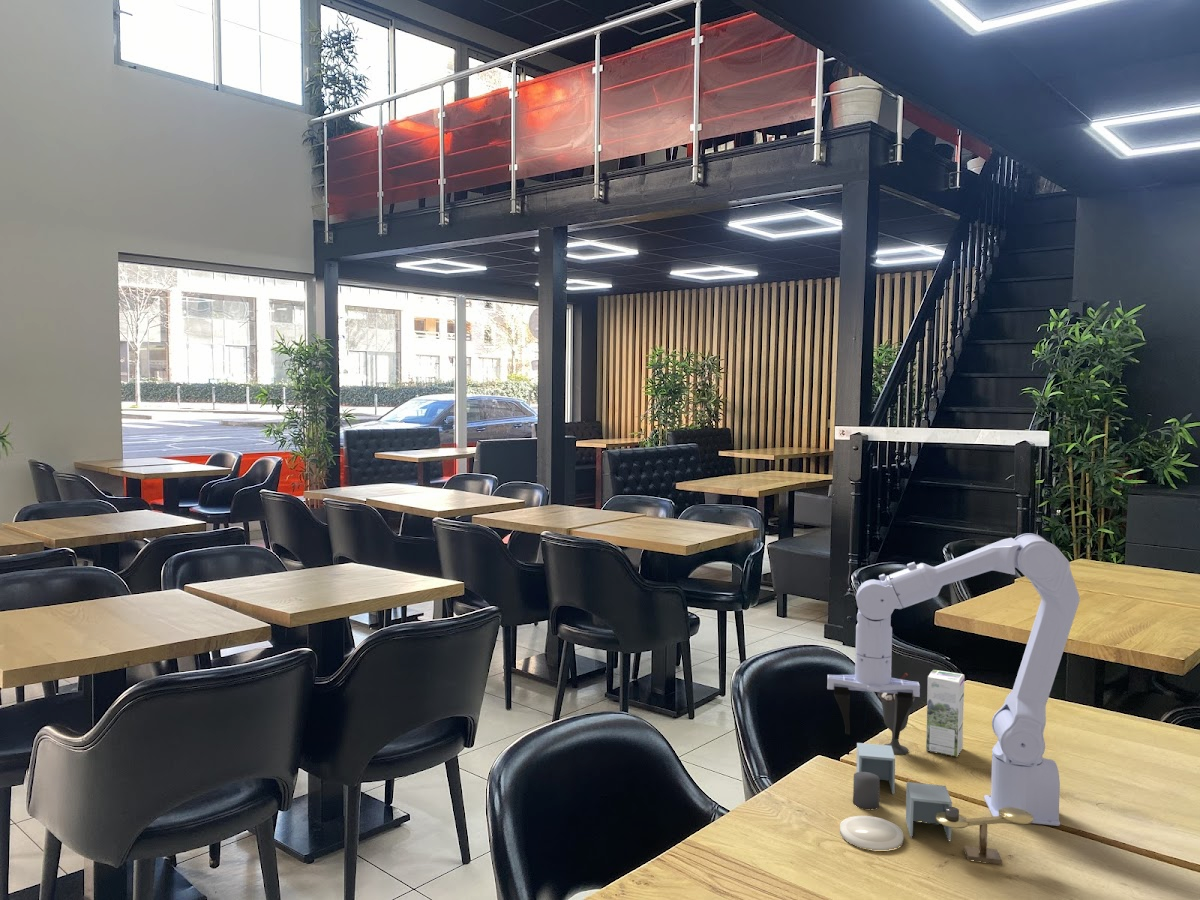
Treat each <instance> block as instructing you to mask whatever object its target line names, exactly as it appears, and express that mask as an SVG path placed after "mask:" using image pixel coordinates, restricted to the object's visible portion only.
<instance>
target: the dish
mask: <svg viewBox="0 0 1200 900" xmlns="http://www.w3.org/2000/svg"><path fill="white" fill-rule="evenodd" d="M839 834H841V835H840V837H841V836H842V837H843V838H842V837H841V838H842V839H843V840H844V839H845V840H846V841H847V843H848V842H849V843H851V844H853V845H856V846H858V847H861V848H866V849H872V850H889V849H894V848H898V847H899V846H901V845H902V846H903V844H904V833H903V830H902V829H901V827H899V825H897V824H895V823H893V822H892V821H890V820H887V819H884V818H882V817H876V816H869V815H854V816H849V817H846V818H845V819H843V820H842V821H841V822H840V823H839ZM845 840H844V841H845ZM846 841H845V842H846ZM849 843H848V844H849ZM902 843H903V844H902ZM851 844H850V845H851ZM853 845H852V846H853ZM902 846H901V847H902ZM858 847H857V848H858ZM861 848H860V849H861ZM898 849H899V848H898Z"/></svg>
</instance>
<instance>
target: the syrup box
mask: <svg viewBox="0 0 1200 900" xmlns="http://www.w3.org/2000/svg"><path fill="white" fill-rule="evenodd" d="M926 689H927V692H926V693H927V694H926V695H927V696H926V698H927V701H926V734H925V737H926V740H925V741H926V742H925V746H926V747H925V750H926V752H928V751H930V752H929V753H933V752H937V753H936V754H938V753H941V754H940V755H942V754H947V755H952V756H958V755H960V754H961V752H962V750H963V746H964V744H963V743H964V735H963V734H964V731H963V730H964V702H965V700H964V699H965V674H963V673H958V672H953V671H951V672H950V671H945V670H938V669H932V671H930V673H929V674H928V675H927V688H926ZM960 751H961V752H960ZM959 753H960V754H959ZM947 755H946V756H947ZM952 756H951V757H952ZM958 757H959V756H958Z"/></svg>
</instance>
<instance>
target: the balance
mask: <svg viewBox="0 0 1200 900" xmlns="http://www.w3.org/2000/svg"><path fill="white" fill-rule="evenodd" d="M936 821H937V822H938V823H940V824H942V826H943V825H944V826H947V827H950V828H951V829H965V828H968V827H972V826H973V827H974V826H979V829H978V833H979V835H978V836H979V837H978V839H979V840H978V846H969V845H964V847H963V850H965V851H964V854H965V853H966V854H965V856H967V857H966V858H968V859H967V861H968V860H974V861H981V862H980V863H982V862H986V863H985V864H990V863H994V864H993V865H999V864H1001V865H1002V864H1003V859H1002V857H1001V855H1000V853H999V850H998V849H997V848H989V847H988V844H987V843H988V825H995V824H996V825H997V824H1008V823H1014V824H1018V825H1019V824H1020V825H1028V824H1032V823H1031V822H1033V816H1032V815H1031V814H1030V813H1029V812H1027V811H1025V810H1022V809H1018V808H1012V807H1004V808H1001V809H999V816H994V817H993V816H985V817H984V816H983V817H973V818H967V817H966V816H964V815H962V814H960V809H959V808H957V807H955V806H952V807H946V809H945V812H940V813H937V814H936ZM974 861H973V862H974ZM1001 865H1000V866H1001Z"/></svg>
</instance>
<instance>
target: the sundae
mask: <svg viewBox="0 0 1200 900" xmlns="http://www.w3.org/2000/svg"><path fill="white" fill-rule="evenodd" d="M908 676H909V674H908V673H907V672H904V674H903V675H902V676H901V678H900V679H901V680H905V678H907V677H908ZM877 696H878V698H879V699H880V701H881V707H882V714H883V715H882V716H883V722H884V725H885V726H886V727H887V728H888V730H890V731H891V741H890V743H885V744H883V745H889V746H892V749H893V753H894V755H896V754H903V755H906V753H907V754H909V752H910V751H909V748H908V747H906V746H904V745H902V744H900V739H894V735H893V726H894V716H895V694H894V693H882V692H879V693H877ZM912 698H913V703H914V702H915V700H916V697H914V696H912ZM910 710H911V708H910V709H909V711H908V713H907V715H906V717H905V719H904V721H903V724H902V727H901V730H900V732H902V731H904V730H905V728H907V724H908V721H909V715H910ZM908 751H909V752H908Z"/></svg>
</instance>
